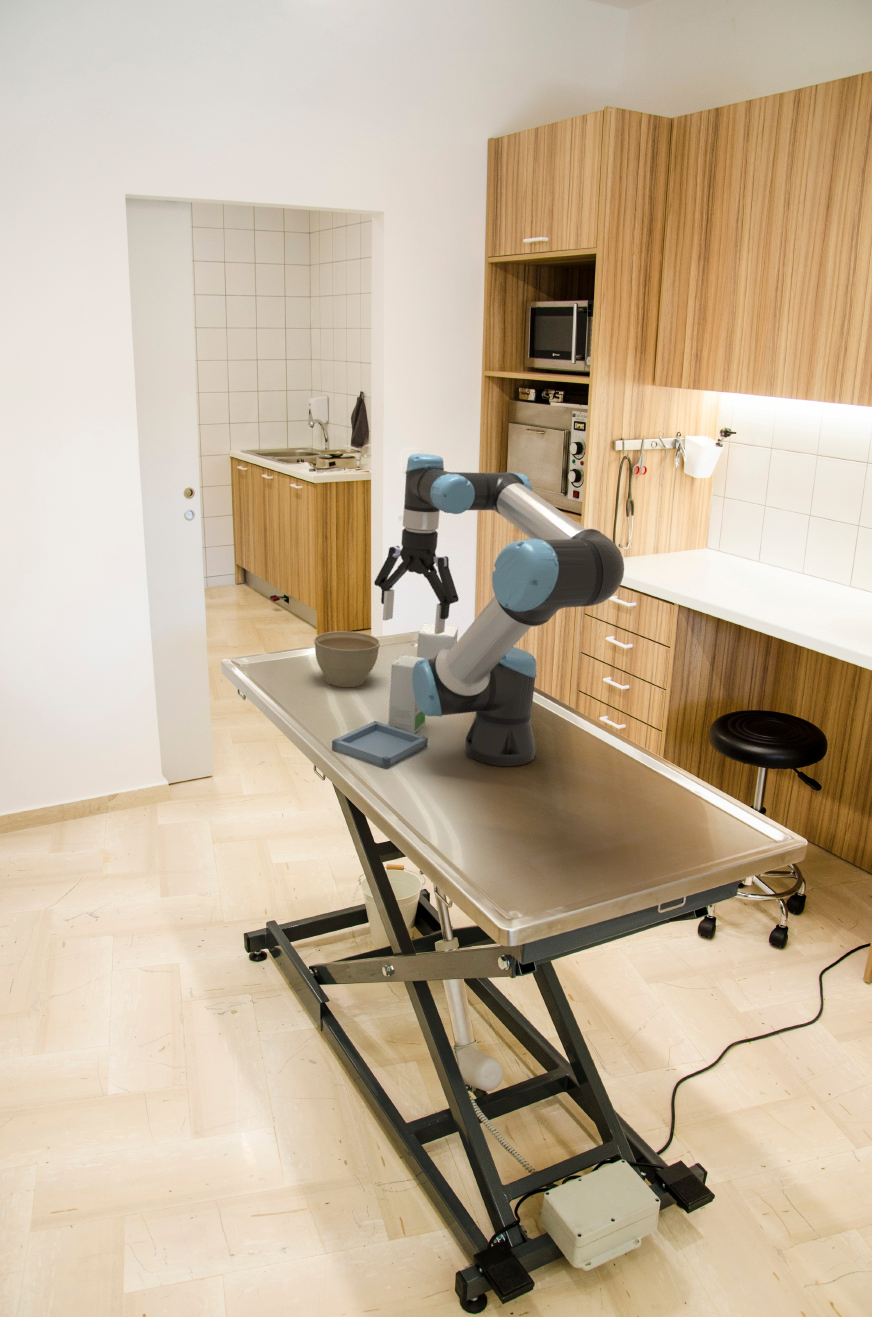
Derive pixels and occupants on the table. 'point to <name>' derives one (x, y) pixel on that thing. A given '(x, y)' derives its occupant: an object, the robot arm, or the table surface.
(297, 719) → the table surface
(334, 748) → the tray
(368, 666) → the planter bowl
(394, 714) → the skincare box
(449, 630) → the supplement box
